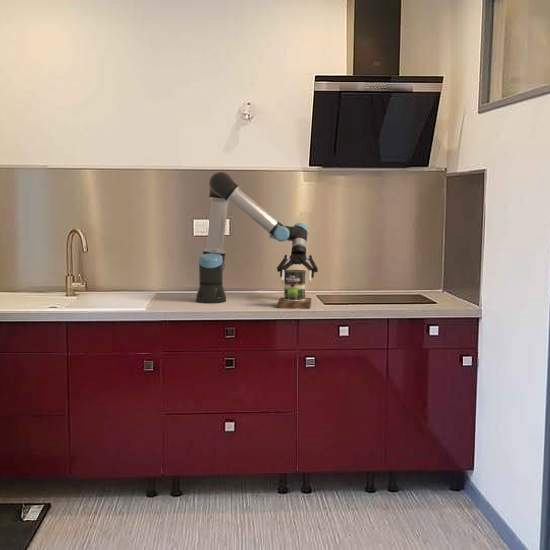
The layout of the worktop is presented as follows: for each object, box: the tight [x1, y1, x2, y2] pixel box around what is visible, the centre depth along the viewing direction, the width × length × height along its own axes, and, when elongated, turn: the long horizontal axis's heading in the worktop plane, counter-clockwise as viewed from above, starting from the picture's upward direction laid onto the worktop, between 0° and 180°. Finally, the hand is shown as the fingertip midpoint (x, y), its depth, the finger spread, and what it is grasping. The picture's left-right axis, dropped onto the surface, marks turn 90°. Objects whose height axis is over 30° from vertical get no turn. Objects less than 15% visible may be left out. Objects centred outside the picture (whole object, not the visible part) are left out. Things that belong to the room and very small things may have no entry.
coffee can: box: [283, 269, 307, 301], centre depth 345 cm, size 10×10×14 cm
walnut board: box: [277, 296, 312, 310], centre depth 346 cm, size 15×15×3 cm
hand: (296, 282), depth 354 cm, fingers open, 13 cm apart
